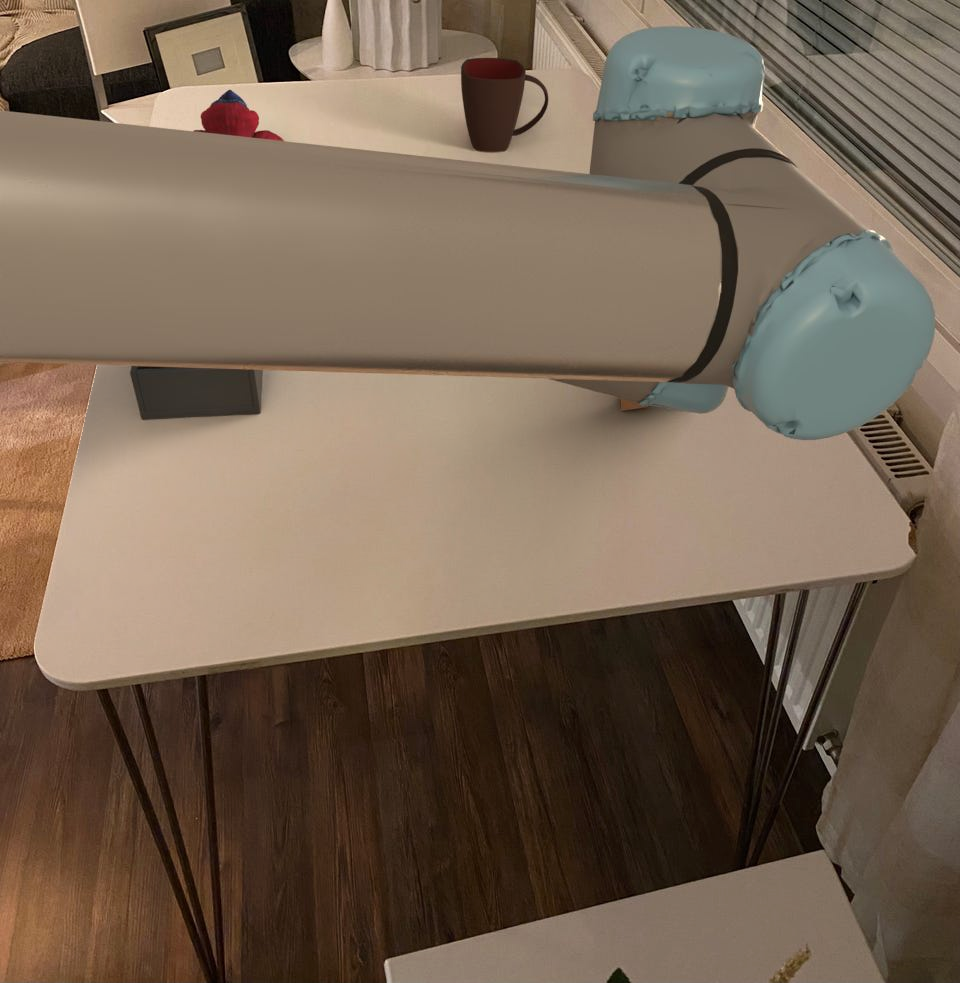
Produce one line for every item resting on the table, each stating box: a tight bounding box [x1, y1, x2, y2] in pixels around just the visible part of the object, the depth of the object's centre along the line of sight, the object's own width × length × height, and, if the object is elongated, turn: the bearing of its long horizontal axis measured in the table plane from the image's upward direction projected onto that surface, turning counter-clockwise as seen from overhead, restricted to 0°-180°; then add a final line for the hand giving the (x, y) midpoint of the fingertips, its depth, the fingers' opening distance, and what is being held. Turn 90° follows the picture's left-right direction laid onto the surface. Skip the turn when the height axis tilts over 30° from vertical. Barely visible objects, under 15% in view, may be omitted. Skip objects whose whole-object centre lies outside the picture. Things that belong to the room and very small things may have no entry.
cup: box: [460, 57, 549, 153], centre depth 152 cm, size 10×14×12 cm
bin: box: [129, 366, 264, 421], centre depth 104 cm, size 12×12×6 cm
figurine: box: [193, 89, 285, 141], centre depth 133 cm, size 16×20×18 cm
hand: (164, 224), depth 62 cm, fingers open, 13 cm apart
